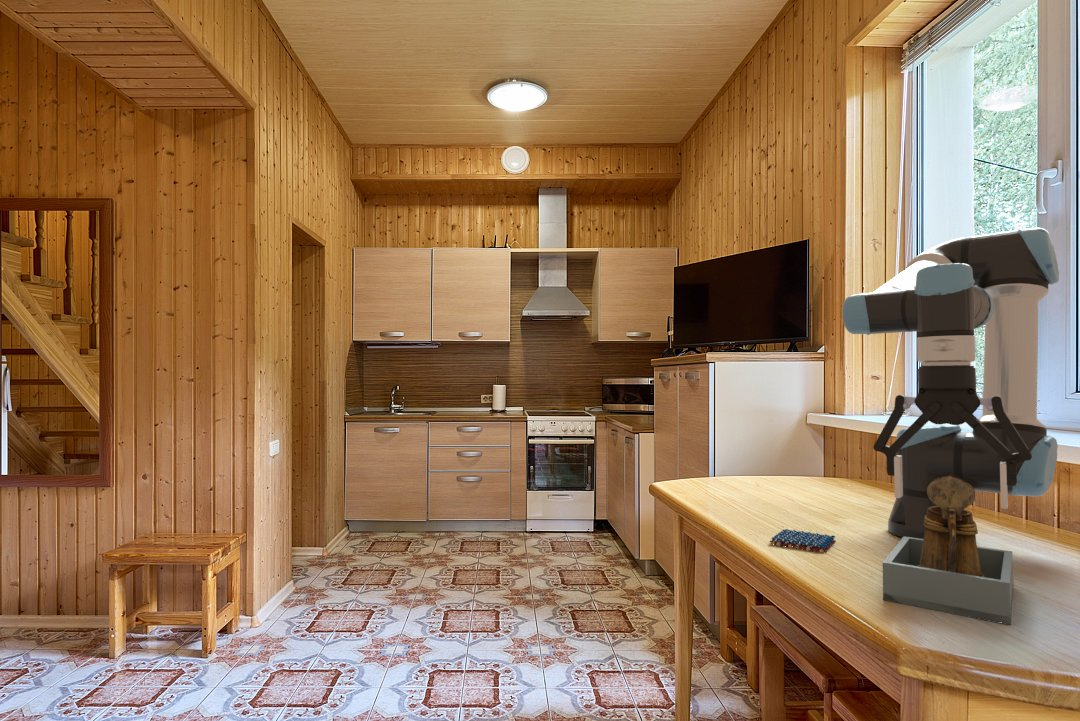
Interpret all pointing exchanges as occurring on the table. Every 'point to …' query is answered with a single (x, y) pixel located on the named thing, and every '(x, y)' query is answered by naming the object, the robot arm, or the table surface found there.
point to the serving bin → (950, 583)
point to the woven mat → (803, 540)
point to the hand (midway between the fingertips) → (949, 501)
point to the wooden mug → (950, 528)
